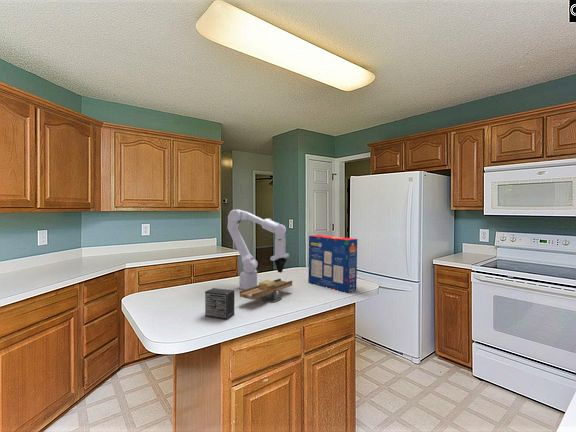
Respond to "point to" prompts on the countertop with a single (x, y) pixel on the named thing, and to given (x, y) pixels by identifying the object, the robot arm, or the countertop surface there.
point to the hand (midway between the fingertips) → (280, 272)
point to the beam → (257, 293)
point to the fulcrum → (271, 297)
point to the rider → (266, 284)
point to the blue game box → (333, 262)
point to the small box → (219, 303)
